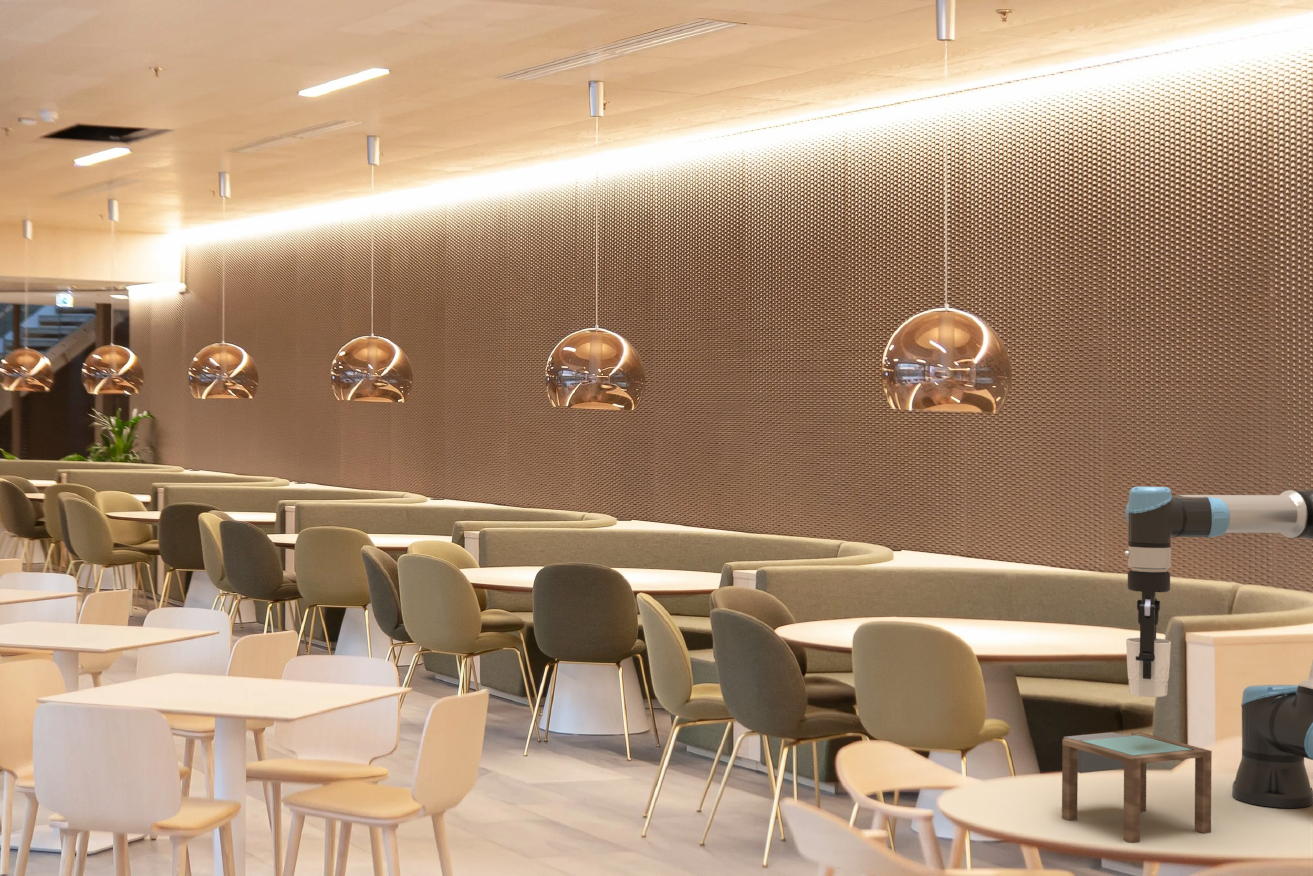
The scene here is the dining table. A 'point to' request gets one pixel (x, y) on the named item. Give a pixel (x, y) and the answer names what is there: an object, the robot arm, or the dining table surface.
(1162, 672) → the white cup
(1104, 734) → the trapdoor
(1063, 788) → the frame
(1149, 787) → the dining table surface
